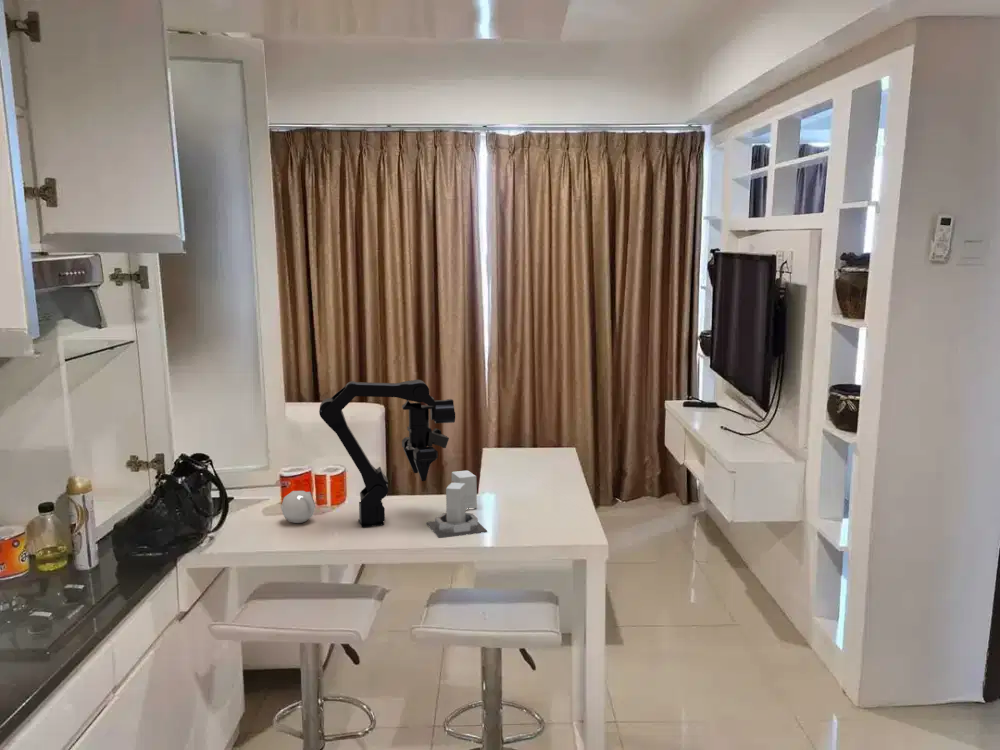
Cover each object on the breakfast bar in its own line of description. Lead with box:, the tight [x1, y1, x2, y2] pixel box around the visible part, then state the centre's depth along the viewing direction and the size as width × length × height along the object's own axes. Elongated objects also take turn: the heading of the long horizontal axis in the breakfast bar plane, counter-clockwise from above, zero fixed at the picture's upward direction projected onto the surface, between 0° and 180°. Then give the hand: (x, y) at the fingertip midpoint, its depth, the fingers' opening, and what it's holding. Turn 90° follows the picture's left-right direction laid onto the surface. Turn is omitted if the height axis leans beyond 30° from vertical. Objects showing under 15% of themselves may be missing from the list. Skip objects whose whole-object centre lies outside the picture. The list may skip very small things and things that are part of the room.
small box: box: [451, 470, 478, 509], centre depth 232 cm, size 8×6×10 cm
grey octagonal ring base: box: [426, 512, 488, 539], centre depth 213 cm, size 14×13×3 cm
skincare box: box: [445, 482, 467, 524], centre depth 213 cm, size 6×4×12 cm
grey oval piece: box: [280, 490, 316, 524], centre depth 221 cm, size 9×10×15 cm
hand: (419, 476), depth 218 cm, fingers open, 9 cm apart
